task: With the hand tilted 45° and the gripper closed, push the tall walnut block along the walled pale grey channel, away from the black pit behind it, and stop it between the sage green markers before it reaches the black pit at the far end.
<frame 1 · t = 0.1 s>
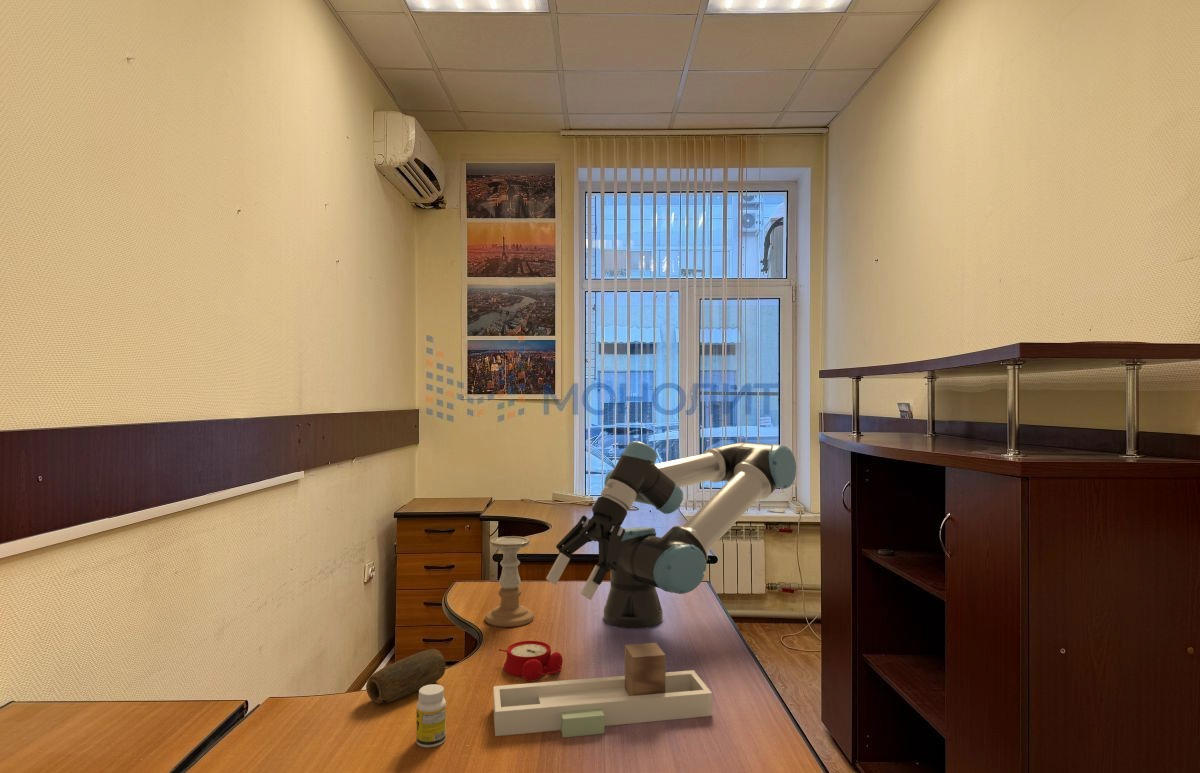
hand: (567, 589, 140), 15 cm above the table, tool tilted 35°, fingers open, 13 cm apart
hollow wooden log: (406, 694, 125), on the table
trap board: (601, 712, 117), on the table
alarm clock: (533, 671, 135), on the table
supplement bottle: (431, 742, 107), on the table
walnut block: (644, 694, 118), point 2 cm above the table, touching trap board
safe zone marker: (576, 714, 116), on the table
candle holder: (509, 620, 167), on the table
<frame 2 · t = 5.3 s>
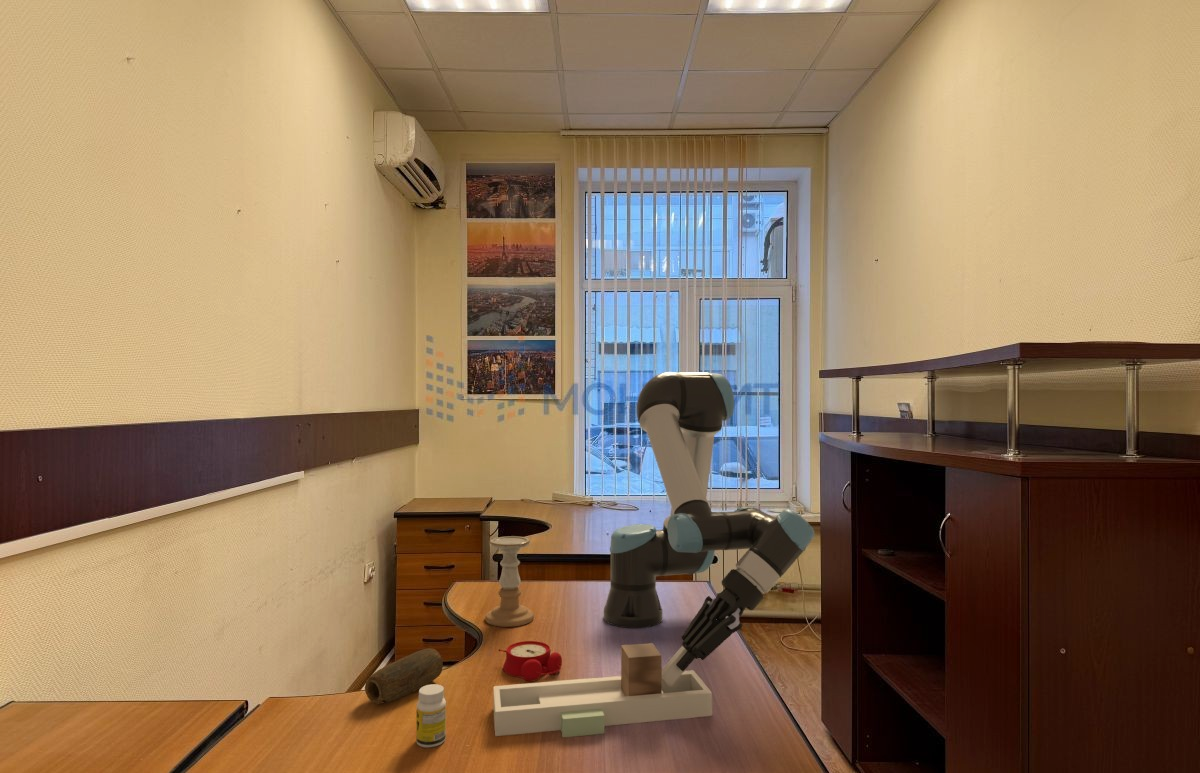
hand: (664, 679, 118), 5 cm above the table, tool tilted 45°, fingers closed
walnut block: (640, 694, 118), point 2 cm above the table, touching gripper, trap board
everything else where it was.
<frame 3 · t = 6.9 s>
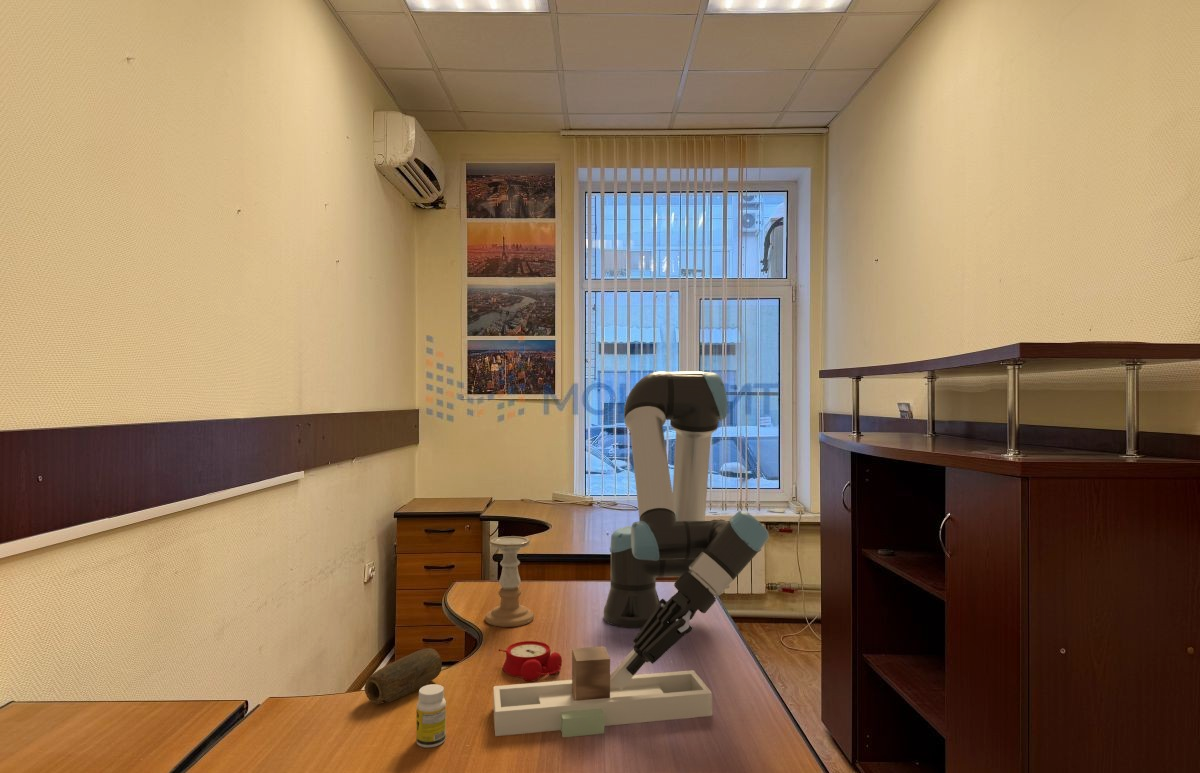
hand: (615, 683, 117), 5 cm above the table, tool tilted 45°, fingers closed
walnut block: (590, 698, 117), point 3 cm above the table, touching gripper
everything else where it was.
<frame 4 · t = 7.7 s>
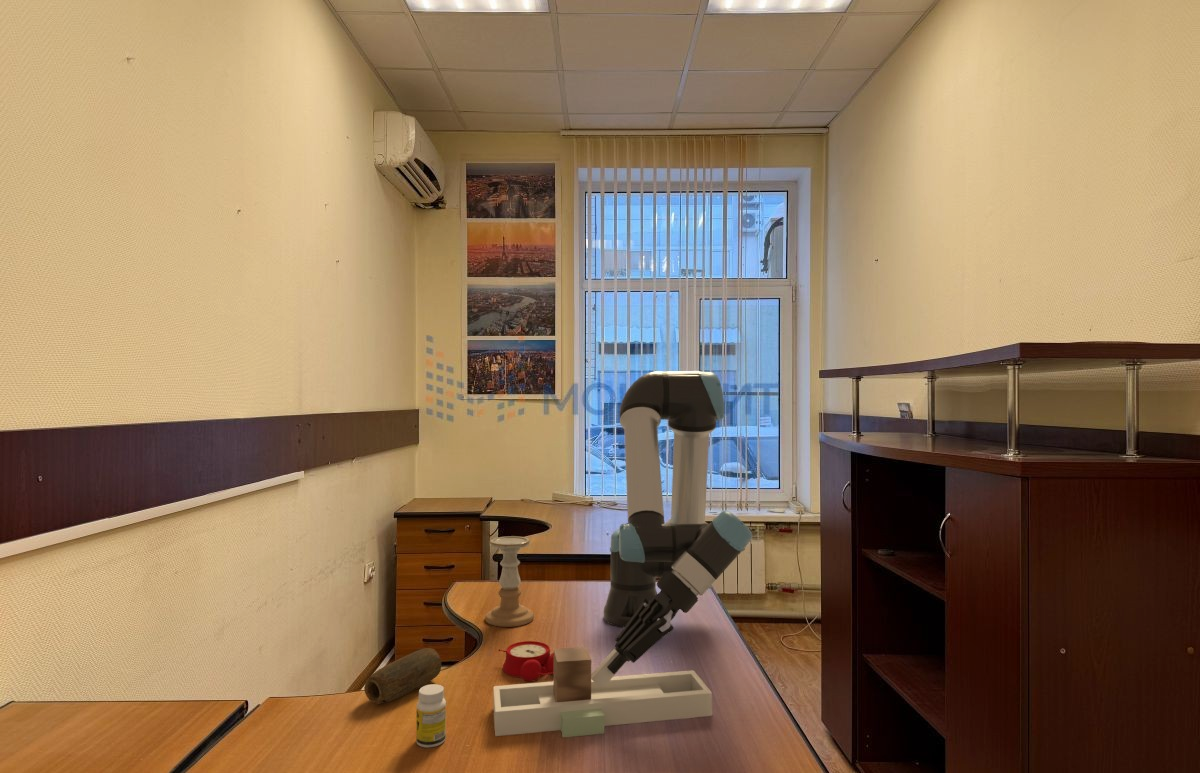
hand: (596, 682, 117), 5 cm above the table, tool tilted 45°, fingers closed
walnut block: (571, 699, 116), point 2 cm above the table, touching gripper, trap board
everything else where it was.
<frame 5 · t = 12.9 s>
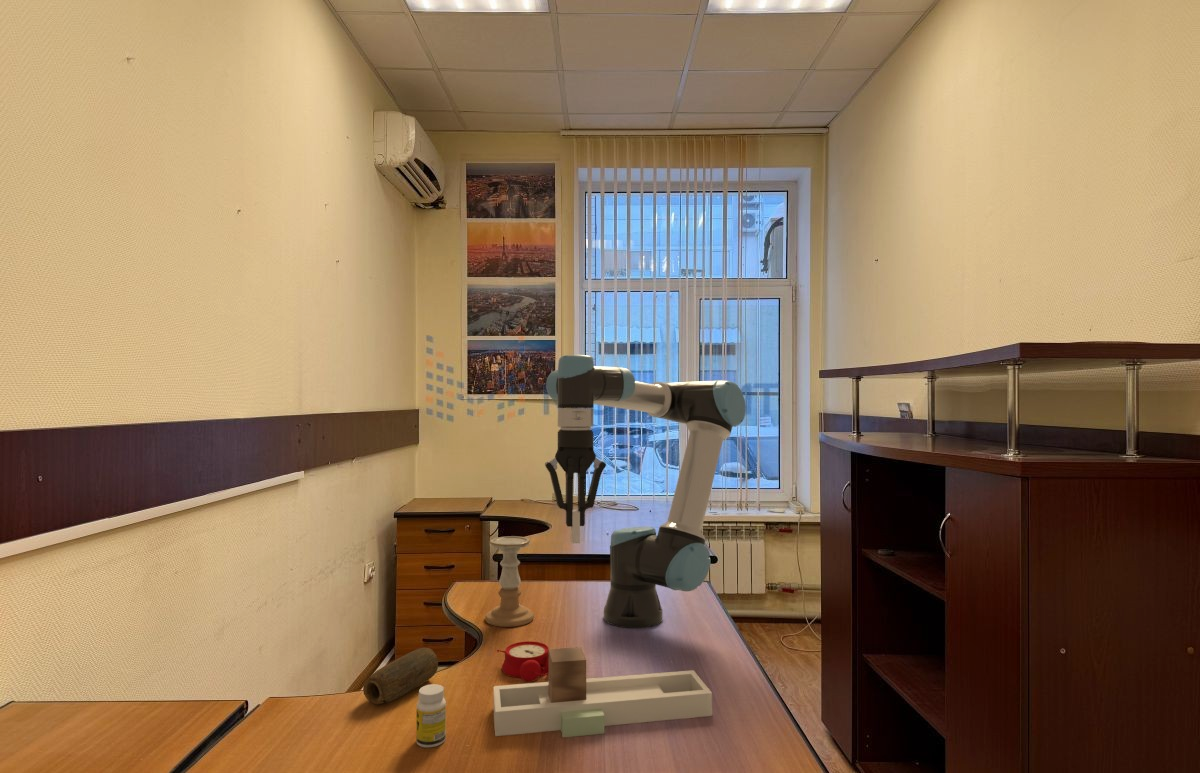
hand: (575, 541, 136), 26 cm above the table, tool pointing down, fingers closed
walnut block: (566, 699, 116), point 2 cm above the table, touching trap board
at the end: walnut block 1.8 cm from the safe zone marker (horizontally); walnut block point 2.5 cm above the table; walnut block tilted 0° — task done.
